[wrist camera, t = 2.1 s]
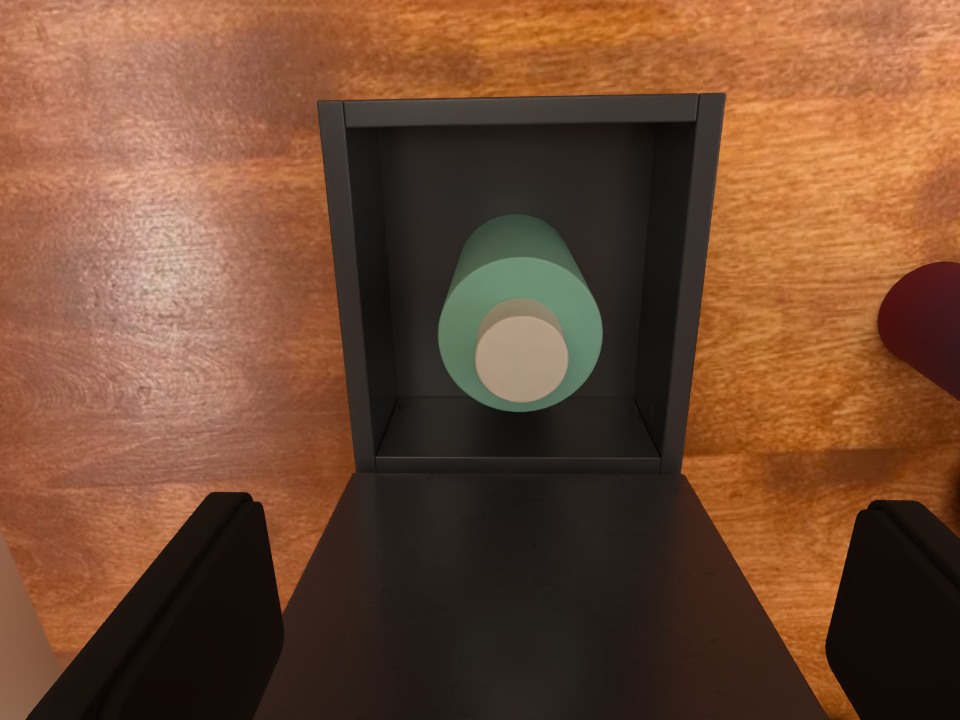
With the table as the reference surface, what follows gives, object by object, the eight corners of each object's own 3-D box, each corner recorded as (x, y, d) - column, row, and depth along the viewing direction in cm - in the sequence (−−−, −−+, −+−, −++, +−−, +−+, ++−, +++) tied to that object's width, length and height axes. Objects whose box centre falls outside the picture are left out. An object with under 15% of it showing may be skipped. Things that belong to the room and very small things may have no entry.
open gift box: (360, 105, 27) (316, 100, 21) (673, 99, 27) (727, 92, 20) (384, 405, 33) (355, 475, 26) (645, 405, 32) (681, 476, 26)
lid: (143, 891, 11) (191, 1075, 12) (948, 918, 10) (888, 1107, 12) (352, 472, 26) (361, 580, 27) (684, 473, 25) (674, 584, 27)
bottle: (444, 307, 30) (410, 413, 19) (476, 198, 28) (460, 247, 17) (550, 339, 30) (575, 461, 19) (589, 234, 28) (641, 304, 17)
